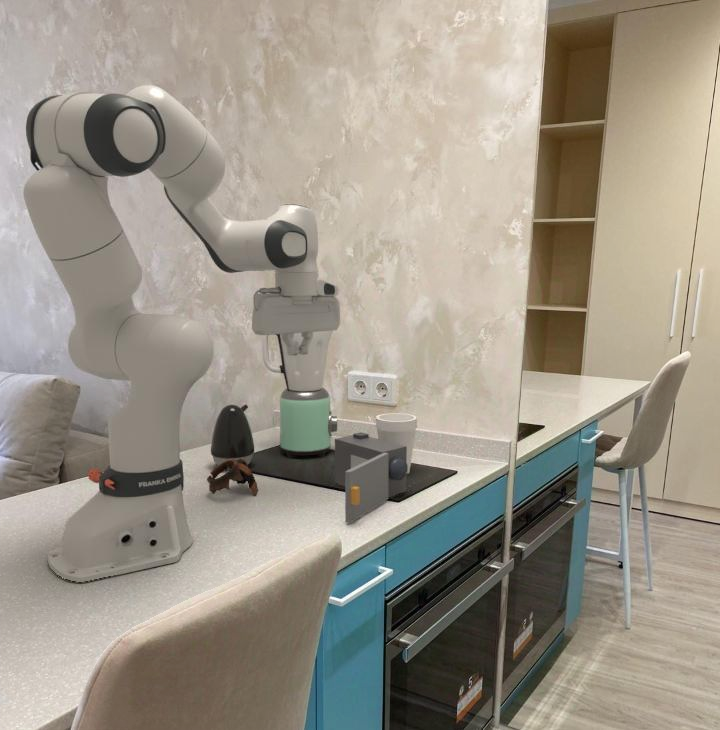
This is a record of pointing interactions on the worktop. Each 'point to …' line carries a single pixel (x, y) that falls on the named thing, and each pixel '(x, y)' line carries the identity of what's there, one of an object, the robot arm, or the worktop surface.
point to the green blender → (304, 397)
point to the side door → (366, 486)
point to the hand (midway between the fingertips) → (297, 354)
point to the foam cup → (398, 431)
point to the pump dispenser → (232, 436)
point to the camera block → (365, 448)
